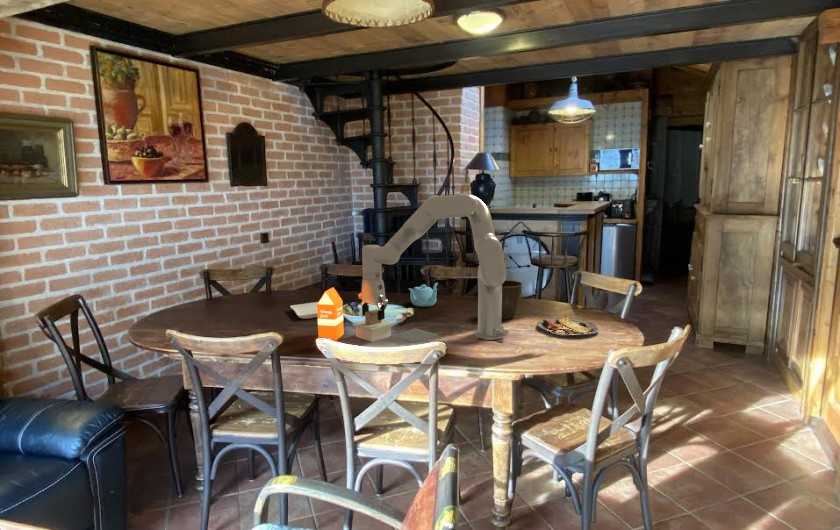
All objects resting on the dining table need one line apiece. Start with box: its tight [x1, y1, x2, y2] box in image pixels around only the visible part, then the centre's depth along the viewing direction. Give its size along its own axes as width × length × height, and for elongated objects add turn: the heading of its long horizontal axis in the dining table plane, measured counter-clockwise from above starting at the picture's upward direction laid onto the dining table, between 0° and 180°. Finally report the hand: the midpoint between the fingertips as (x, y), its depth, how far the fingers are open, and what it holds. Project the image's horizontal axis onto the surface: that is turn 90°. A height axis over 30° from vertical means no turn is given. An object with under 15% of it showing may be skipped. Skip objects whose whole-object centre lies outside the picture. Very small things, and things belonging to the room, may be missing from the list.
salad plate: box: [290, 301, 319, 320], centre depth 251 cm, size 21×21×3 cm
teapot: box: [408, 282, 439, 308], centre depth 267 cm, size 15×15×10 cm
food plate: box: [536, 315, 600, 337], centre depth 221 cm, size 25×23×4 cm
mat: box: [391, 327, 439, 343], centre depth 214 cm, size 14×14×1 cm
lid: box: [352, 308, 395, 332], centre depth 211 cm, size 12×12×6 cm
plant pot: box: [501, 279, 523, 320], centre depth 240 cm, size 15×15×16 cm
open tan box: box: [355, 326, 392, 343], centre depth 212 cm, size 10×10×5 cm
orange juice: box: [317, 286, 345, 341], centre depth 213 cm, size 8×9×20 cm
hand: (373, 317), depth 211 cm, fingers open, 9 cm apart
